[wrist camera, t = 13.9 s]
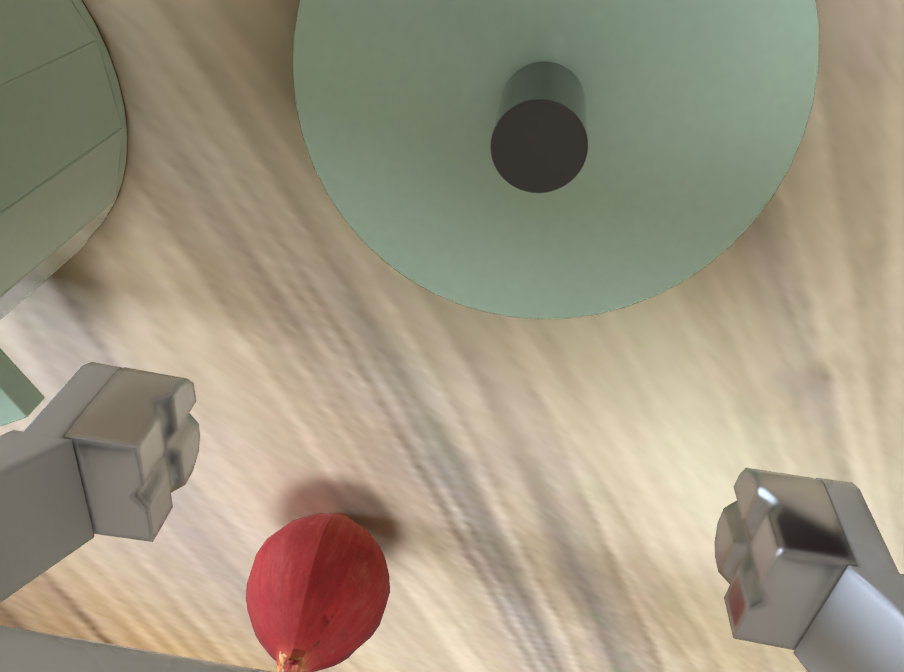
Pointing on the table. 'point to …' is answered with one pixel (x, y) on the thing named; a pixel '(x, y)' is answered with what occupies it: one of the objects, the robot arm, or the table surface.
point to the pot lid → (552, 137)
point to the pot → (51, 154)
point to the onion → (317, 592)
